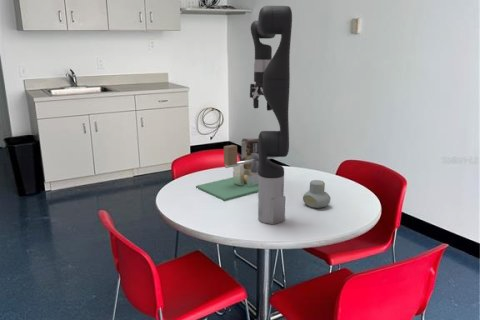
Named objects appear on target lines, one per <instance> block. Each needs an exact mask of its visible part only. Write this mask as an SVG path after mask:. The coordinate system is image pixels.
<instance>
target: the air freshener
mask: <svg viewBox="0 0 480 320" xmlns="http://www.w3.org/2000/svg"><path fill="white" fill-rule="evenodd" d="M325 183H326V182H324V180H320V179H314V180H310V182H309V190H308V191H306V192H305V193H304V194H303V196H302V201H303V203H304V204H305V205H307V206H308V207H310V208H312V209H319V208H320V209H321V208H325V207H327V206H328V205H329V204H330V203H331V197H330V195H329V193H328V192H327V191H325V188H326V187H325V186H326V184H325Z"/></svg>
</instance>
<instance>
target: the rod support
mask: <svg viewBox="0 0 480 320" xmlns="http://www.w3.org/2000/svg"><path fill="white" fill-rule="evenodd" d="M255 158H257V162H253V163H251V171H252V172H254V173H257V174H259V154H257V153H251V159H255Z"/></svg>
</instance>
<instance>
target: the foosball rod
mask: <svg viewBox="0 0 480 320" xmlns="http://www.w3.org/2000/svg"><path fill="white" fill-rule="evenodd" d="M267 158H268V160H271V159H274V158H275V159H276V158H277V157H267ZM253 162H257V158H255V159H250V160H246V161H242V160H241V161H238V146H237V145H235V144H230V145H223V164H224V168H225V169H229V168H232V169H233V171H232V177H233V183H235V184H237V185H240V186H241V185H244V164H248V163H253Z"/></svg>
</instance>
